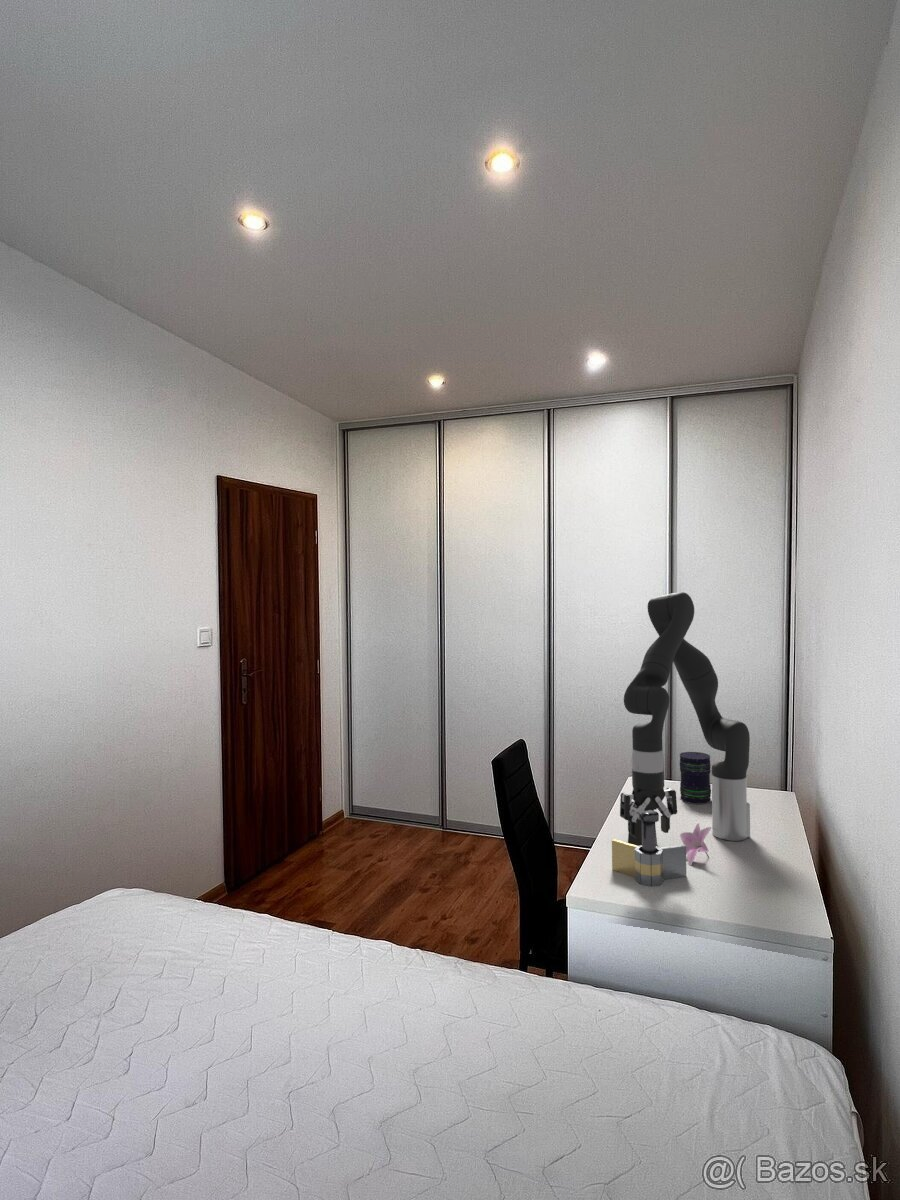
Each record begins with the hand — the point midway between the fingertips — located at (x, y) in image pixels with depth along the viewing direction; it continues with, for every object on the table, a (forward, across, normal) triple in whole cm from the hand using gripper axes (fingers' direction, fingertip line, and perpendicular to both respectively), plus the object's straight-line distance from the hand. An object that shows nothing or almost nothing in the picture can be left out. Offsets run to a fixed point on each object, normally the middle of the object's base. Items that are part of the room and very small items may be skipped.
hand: (649, 833), depth 164 cm
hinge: (+11, -2, -3) cm, 12 cm away
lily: (+12, -18, -8) cm, 23 cm away
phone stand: (+12, -10, -20) cm, 25 cm away
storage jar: (+12, -49, -52) cm, 72 cm away
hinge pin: (+11, 0, 0) cm, 11 cm away
